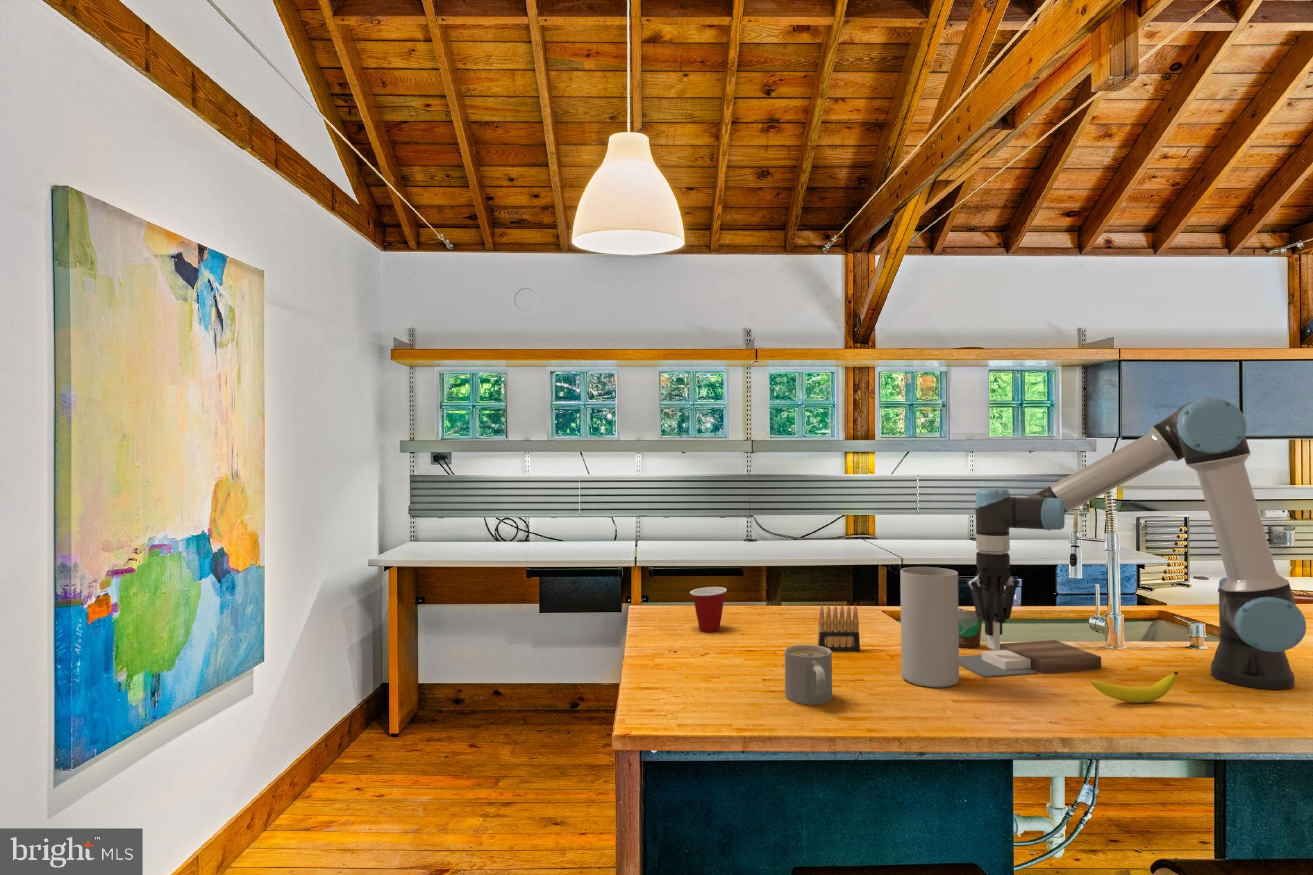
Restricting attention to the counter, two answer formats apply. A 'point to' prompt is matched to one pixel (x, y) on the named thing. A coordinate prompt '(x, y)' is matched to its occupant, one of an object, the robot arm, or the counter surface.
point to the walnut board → (1054, 656)
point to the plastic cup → (709, 607)
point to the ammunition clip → (839, 630)
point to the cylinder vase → (929, 626)
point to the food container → (969, 629)
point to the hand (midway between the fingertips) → (993, 648)
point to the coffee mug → (808, 674)
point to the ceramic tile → (1006, 659)
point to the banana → (1136, 690)
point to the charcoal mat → (989, 667)
